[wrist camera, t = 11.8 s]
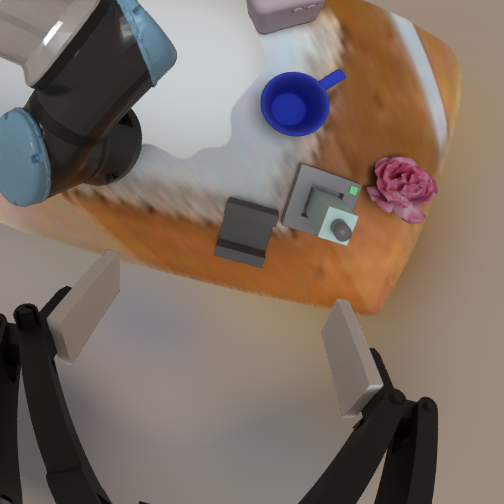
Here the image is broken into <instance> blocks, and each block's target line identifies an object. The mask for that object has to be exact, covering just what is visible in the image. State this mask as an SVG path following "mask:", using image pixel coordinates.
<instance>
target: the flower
mask: <svg viewBox="0 0 504 504" xmlns="http://www.w3.org/2000/svg"><path fill="white" fill-rule="evenodd" d="M374 172H375V174H376V176H377V187H376V186H373V187H367V192H368V193H369V195H370V197H371V199H372V201H373V202H375V203H376V204H377V205H378V206H379V207H380V208H382V209H383V210H384V211H386V212H387V213H390V212H391V211H394V212H395V214H396V215H397V216H398V217H400V218H401V219H402V220H404V221H406V222H407V223H409V224H415V223H421V222H422V221H423V220H424V219H425V218H426V215H425V214H424V213H423V211H422V210H421V209H420V207H419V206H418V205H420V204H429V203H430V202H431V200H432V198H433V196H436V195H437V193H438V188H437V184H436V181H435V180H434V178H433V176H432V175H428V174H426V173H425V172H424V171H423V170H422V169H421V168H420V167H417V165H416V162H415V161H414V160H412V159H411V158H409V157H394V156H392V157H390V158H388V157H384V158H381V159H380V160H378V161H377V162H376V164H375V171H374ZM417 204H418V205H417Z"/></svg>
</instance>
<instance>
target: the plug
mask: <svg viewBox="0 0 504 504" xmlns="http://www.w3.org/2000/svg"><path fill="white" fill-rule="evenodd" d="M304 210H305V212H306V214H307V216H308V218H309V220H310V222H311V224H312V226H313V228H314V230H315V232H316V234H317V236H318V237H320V238H323V239H327V240H330V241H333V242H336V243H340V244H343V245H346V246H347V244H348V241H349V239H350V237H351V235H352V232H353V229H354V227H355V224H356V222H357V219H358V217H359V216H358V215H357V214H356V213H354V212H353V211H352V210H351V209H350V208H349V207H348V206H347V205H346V204H345V203H344V202H343V201H342V200H341V199H340V198H339V197H337V196H336V195H335V194H333V193H330V192H327V191H324V190H321V189H318V188H315V187H312V189H311V191H310V194H309V197H308V200H307V203H306V206H305V209H304Z"/></svg>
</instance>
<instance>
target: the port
mask: <svg viewBox="0 0 504 504" xmlns="http://www.w3.org/2000/svg"><path fill="white" fill-rule="evenodd" d="M312 187H315V188H318V189H321V190H324V191H327V192H330V193H333V194H335V195H336V196H337V197H339V198H340V199H341V200H342V201H343V202H344V203H345V204H346V205H347V206H348V207H349V208H350V209H351V210H352V211H353V209H354V206H355V203H356V201H357V198H358V195H359V193H360V190H361V187H362V185H360V184H359V183H357V182H355V181H352V180H349V179H347V178H344V177H341V176H339V175H336V174H333V173H330V172H327V171H325V170H322V169H319V168H316V167H313V166H310V165H307V164H304V163H301V162H300V163H299V167H298V170H297V173H296V176H295V179H294V182H293V185H292V188H291V191H290V194H289V197H288V200H287V203H286V206H285V209H284V212H283V215H282V218H281V223H282V226H286V227H289V228H293V229H296V230H299V231H303V232H306V233H309V234H313V235H316V236H317V234H316V232H315V230H314V228H313V226H312V224H311V222H310V220H309V218H308V216H307V214H306V212H305V210H304V209H305V206H306V203H307V200H308V197H309V194H310V191H311V189H312Z"/></svg>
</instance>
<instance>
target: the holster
mask: <svg viewBox="0 0 504 504" xmlns="http://www.w3.org/2000/svg"><path fill="white" fill-rule="evenodd" d="M224 213H225V216H224V220H223V223H222V227H221V231H220V235H219V239H218V241H217V244H216V247H215V251H214V255H215V256H218V257H222V258H226V259H229V260H233V261H237V262H241V263H244V264H248V265H252V266H256V267H259V268H262V266H263V263H264V260H265V249H266V246H267V243H268V240H269V237H270V234H271V231H272V228H273V227H276V224H277V221H278V218H279V214H278V211H276V210H272V209H269V208H266V207H262V206H259V205H255V204H251V203H248V202H244V201H241V200H237V199H233V198H230V197H229V199H228V201H227V204H226V208H225V212H224Z"/></svg>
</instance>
